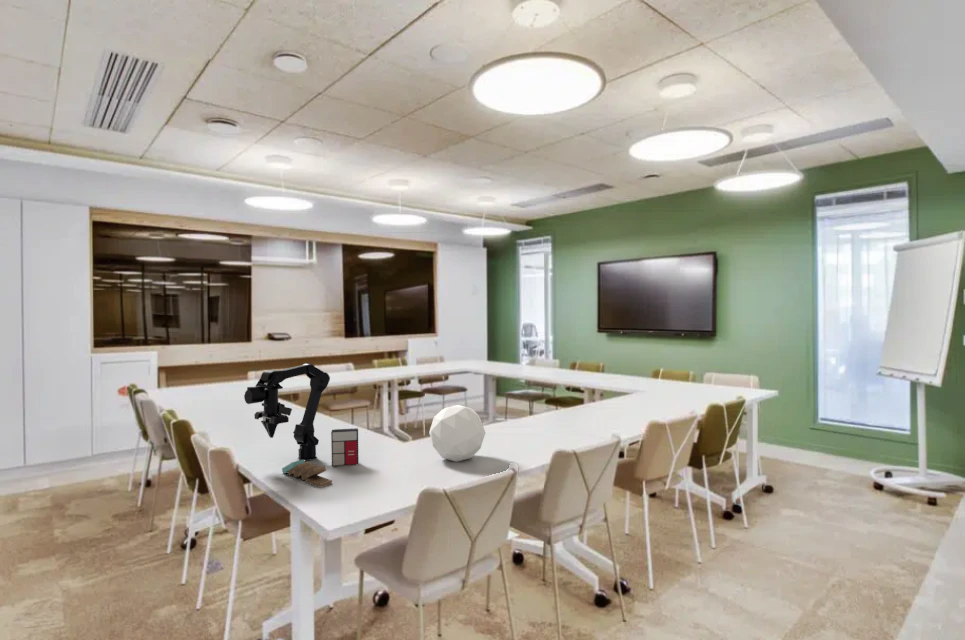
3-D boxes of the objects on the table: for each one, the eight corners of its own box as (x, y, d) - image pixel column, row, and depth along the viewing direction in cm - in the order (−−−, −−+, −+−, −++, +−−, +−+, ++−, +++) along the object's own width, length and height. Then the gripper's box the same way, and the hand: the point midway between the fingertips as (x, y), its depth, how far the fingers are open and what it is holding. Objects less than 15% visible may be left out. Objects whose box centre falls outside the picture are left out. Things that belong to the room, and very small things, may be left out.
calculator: (331, 467, 223) (331, 431, 223) (332, 464, 227) (331, 429, 227) (358, 465, 225) (357, 430, 225) (358, 462, 230) (358, 428, 229)
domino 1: (281, 468, 215) (292, 462, 209) (293, 465, 219) (304, 459, 213) (282, 473, 215) (293, 467, 209) (294, 470, 219) (305, 464, 212)
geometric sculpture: (463, 482, 228) (460, 445, 212) (421, 454, 240) (415, 417, 224) (496, 446, 242) (495, 409, 226) (454, 421, 254) (451, 385, 239)
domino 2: (287, 470, 212) (298, 464, 206) (299, 467, 216) (310, 461, 210) (289, 475, 212) (299, 469, 205) (300, 472, 215) (311, 466, 209)
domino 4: (300, 475, 206) (313, 468, 200) (312, 471, 210) (325, 465, 204) (302, 480, 206) (314, 473, 200) (313, 476, 210) (326, 470, 204)
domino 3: (293, 473, 209) (305, 466, 203) (305, 470, 213) (317, 463, 207) (294, 478, 209) (306, 471, 203) (306, 475, 213) (318, 468, 207)
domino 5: (305, 478, 204) (320, 483, 197) (317, 475, 208) (331, 480, 201) (305, 483, 204) (320, 488, 197) (317, 480, 208) (331, 485, 201)
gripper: (300, 400, 221) (300, 437, 222) (278, 395, 234) (279, 431, 234) (274, 404, 213) (275, 442, 213) (253, 399, 226) (254, 435, 226)
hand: (271, 437), depth 222 cm, fingers closed
